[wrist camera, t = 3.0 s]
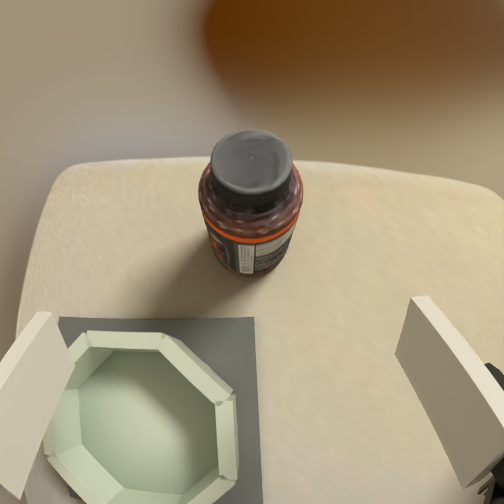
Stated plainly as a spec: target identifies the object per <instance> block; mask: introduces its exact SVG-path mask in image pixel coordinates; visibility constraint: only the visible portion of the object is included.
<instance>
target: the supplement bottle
mask: <svg viewBox="0 0 504 504" xmlns="http://www.w3.org/2000/svg"><path fill="white" fill-rule="evenodd" d="M198 194H199V202H200V206H201V210H202V214H203V217H204V221H205V224H206V227H207V231H208V234H209V238H210V241H211V245H212V248H213V251H214V253H215V255H216V256H217V258H218V260H219V261H220V262H221V263H222V265H223V266H225V267H226V268H227V269H229V270H230V271H231V272H233V273H236V274H239V275H244V276H257V275H261V274H264V273H267V272H269V271H270V270H272V269H273V268H275V267H276V266H277V265H278V264H279V263H280V262H281V260H282V259H283V257H284V255H285V253H286V251H287V248H288V245H289V242H290V239H291V237H292V233H293V230H294V227H295V225H296V221H297V219H298V215H299V212H300V208H301V205H302V201H303V184H302V179H301V177H300V174H299V172H298V170H297V169H296V167H295V166H294V164H293V163H292V155H291V153H290V150H289V148H288V146H287V145H286V144H285V142H284V141H283V140H282V139H280V138H279V137H278V136H276V135H274V134H272V133H270V132H267V131H264V130H259V129H243V130H239V131H235V132H232V133H230V134H228V135H227V136H225V137H224V138H222V139H221V140H220V141H219V142H218V143H217V144H216V146H215V147H214V149H213V152H212V155H211V161H210V163H209V164H208V165H207V167H206V168H205V170H204V172H203V174H202V177H201V179H200V182H199V190H198Z"/></svg>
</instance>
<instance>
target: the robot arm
mask: <svg viewBox="0 0 504 504" xmlns="http://www.w3.org/2000/svg"><path fill="white" fill-rule="evenodd" d="M395 355H396V357H397V359H398V361H399V363H400V364H401V366H402V368H403V370H404V372H405V373H406V375H407V377H408V379H409V381H410V383H411V384H412V386H413V388H414V390H415V392H416V394H417V396H418V398H419V399H420V401H421V403H422V405H423V407H424V409H425V411H426V413H427V415H428V417H429V419H430V421H431V423H432V425H433V427H434V429H435V431H436V433H437V435H438V437H439V439H440V441H441V443H442V445H443V447H444V449H445V451H446V454H447V456H448V458H449V460H450V462H451V464H452V466H453V469H454V471H455V473H456V475H457V477H458V480H459V482H460V484H461V487H462V489H464V488H467V487H469V486H471V485H473V484H475V483H477V482H479V481H480V480H482V479H483V478H484V477H485V476H486V475H487V474H488V473H489V472H490V471H491V472H492V474H493V477H492V478H490V479H489V480H488V481H487V482H486V483H485V484H484V485H483V486H482V487H481V488H480V489H479V491H478V493H477V494H481V493H482V492H483V491H484V490H486V489H487V488H488V489H487V491H486V492H485V494H484V495H486V497H485V501H484V504H504V375H503V374H502V372H501V371H500V370H499V369H497V368H496V367H494V366H493V365H492V364H490V363H486V364H483V362H482V361H481V360H480V358H479V357H478V356H477V354H476V353H475V352H474V351H473V349H472V348H471V347H470V346H469V344H468V343H467V342H466V341H465V339H464V338H463V337H462V336H461V334H460V333H459V332H458V331H457V329H456V328H455V327H454V326H453V325H452V323H451V322H450V321H449V320H448V319H447V317H446V316H445V315H444V314H443V313H442V312H441V310H440V309H439V308H438V307H437V306H436V305H435V303H434V302H433V301H432V300H431V299H430V298H429V297H428V295H425V296H417V297H411V298H410V302H409V306H408V310H407V314H406V317H405V321H404V325H403V328H402V332H401V335H400V339H399V342H398V345H397V349H396V352H395ZM74 368H75V364H74V362H73V360H72V358H71V355H70V353H69V351H68V349H67V346H66V344H65V342H64V339H63V337H62V335H61V332H60V330H59V327H58V325H57V322H56V320H55V317H54V315H53V312H40V311H38V312H37V313H36V314H35V315H34V317H33V318H32V319H31V321H30V322H29V323H28V325H27V326H26V327H25V329H24V330H23V331H22V333H21V334H20V335H19V337H18V338H17V339H16V341H15V342H14V344H13V345H12V346H11V348H10V349H9V351H8V352H7V353H6V355H5V356H4V358H3V359H2V361H1V362H0V490H1V491H2V492H4V493H5V494H8V495H10V496H12V497H14V498H17V499H19V500H20V499H21V496H22V493H23V490H24V487H25V484H26V481H27V478H28V476H29V473H30V470H31V467H32V465H33V462H34V459H35V457H36V454H37V452H38V449H39V446H40V444H41V442H42V439H43V437H44V434H45V432H46V429H47V427H48V425H49V422H50V420H51V418H52V415H53V413H54V411H55V409H56V406H57V404H58V402H59V400H60V398H61V395H62V393H63V391H64V389H65V387H66V385H67V383H68V380H69V378H70V376H71V374H72V372H73V370H74Z"/></svg>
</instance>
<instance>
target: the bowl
mask: <svg viewBox="0 0 504 504" xmlns="http://www.w3.org/2000/svg"><path fill="white" fill-rule="evenodd" d="M68 351H69V353H70V355H71V358H72V360H73V362H74V364H75V368H74V370H73V372H72V374H71V376H70V378H69V380H68V383H67V385H66V387H65V389H64V391H63V393H62V395H61V398H60V400H59V402H58V404H57V406H56V409H55V411H54V413H53V415H52V418H51V420H50V422H49V425H48V427H47V429H46V432H45V434H44V437H43V446H44V453H45V455H49V457H48V458H47V460H48V461H49V462H50V464H51V465H52V466H53V467H54V468H55V470H56V471H57V472H58V473H59V474H60V475H61V477H62V478H63V479H64V480H65V481H66V482H67V483H68V484H69V486H70V487H71V488H72V489H73V490H74V491H75V492H76V493H77V494H78V495H79V496H80V497H81V498H82V499H83V500H84V501H85V502H86V503H87V504H213V503H214V502H215V501H216V500H217V499H219V498H220V497H221V496H222V495H223V494H225V493H226V492H227V491H228V490H229V489H231V488H232V487H233V486H234V485H235V482H236V480H237V478H238V468H239V449H238V424H237V412H236V394H231V393H232V391H233V389H232V388H231V387H230V386H229V385H228V384H226V383H225V382H224V381H223V380H222V379H221V378H220V377H219V376H218V375H217V374H216V373H215V372H214V371H213V370H212V369H211V368H210V367H209V366H208V365H207V364H206V363H205V362H204V361H202V360H201V359H200V358H199V357H197V356H196V355H195V354H194V353H193V352H192V351H191V350H190V349H189V348H188V347H187V346H186V345H185V344H184V343H183V342H182V341H181V340H179V339H176V338H174V337H171V336H169V335H166V334H164V333H152V332H112V331H89V330H87V333H84V332H83V333H82V334H81V335H80V336H79V337H78V338H77V339H76V340H75V341H74V343H73V344H72V345H71V346H70V347H69V348H68Z"/></svg>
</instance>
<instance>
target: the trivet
mask: <svg viewBox="0 0 504 504" xmlns="http://www.w3.org/2000/svg"><path fill="white" fill-rule="evenodd" d="M59 330H60V332H61V335H62V337H63V339H64V342H65V344H66V346H67V349H68V348H69V347H70V346H71V345H72V344H73V343H74V341H75V340H76V339H77V338H78V337H79V336H80V335H81V334H82V333H83V332H84V333H87V330H89V331H112V332H152V333H164V334H166V335H169V336H171V337H174V338H176V339H179V340H181V341H182V342H183V343H184V344H185V345H186V346H187V347H188V348H189V349H190V350H191V351H192V352H193V353H194V354H195V355H196V356H197V357H199V358H200V359H201V360H202V361H204V362H205V363H206V364H207V365H208V366H209V367H210V368H211V369H212V370H213V371H214V372H215V373H216V374H217V375H218V376H219V377H220V378H221V379H222V380H223V381H224V382H225V383H226V384H228V385H229V386H230V387H231V388H232V389H233V391H232V393H231V394H236V412H237V424H238V449H239V468H238V478H237V480H236V482H235V485H234V486H233V487H232V488H231V489H229V490H228V491H227V492H226V493H225V494H223V495H222V496H221V497H220V498H219V499H217V500H216V501H215V502H214V503H213V504H263V494H262V474H261V454H260V434H259V414H258V393H257V373H256V352H255V332H254V317H242V318H212V319H107V318H77V317H59ZM68 485H69V484H68ZM69 491H70V496H72V497H75V498H79V499H82V498H81V497H80V496H79V495H78V494H77V493H76V492H75V491H74V490H73V489H72V488H71V487H70V486H69Z"/></svg>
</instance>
